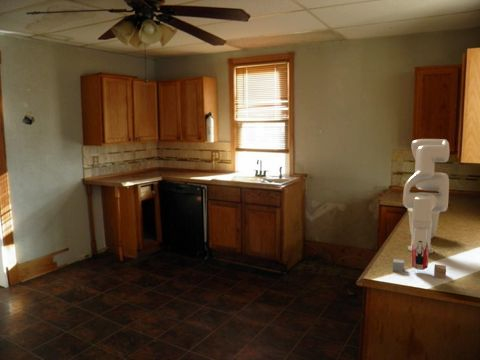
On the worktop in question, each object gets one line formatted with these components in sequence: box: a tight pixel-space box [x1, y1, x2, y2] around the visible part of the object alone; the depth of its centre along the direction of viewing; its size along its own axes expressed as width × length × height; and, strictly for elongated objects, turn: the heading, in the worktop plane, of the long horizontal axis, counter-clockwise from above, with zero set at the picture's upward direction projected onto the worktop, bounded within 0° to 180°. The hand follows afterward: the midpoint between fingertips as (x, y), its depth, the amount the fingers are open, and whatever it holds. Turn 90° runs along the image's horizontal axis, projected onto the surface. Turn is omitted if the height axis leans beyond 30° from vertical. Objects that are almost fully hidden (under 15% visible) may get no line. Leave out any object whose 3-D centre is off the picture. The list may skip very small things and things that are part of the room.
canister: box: [406, 208, 441, 239], centre depth 242 cm, size 18×18×21 cm
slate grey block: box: [392, 258, 405, 274], centre depth 189 cm, size 5×5×5 cm
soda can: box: [411, 242, 430, 271], centre depth 184 cm, size 7×7×12 cm
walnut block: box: [433, 263, 447, 280], centre depth 181 cm, size 5×5×5 cm
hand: (419, 261), depth 185 cm, fingers closed on soda can, 7 cm apart
